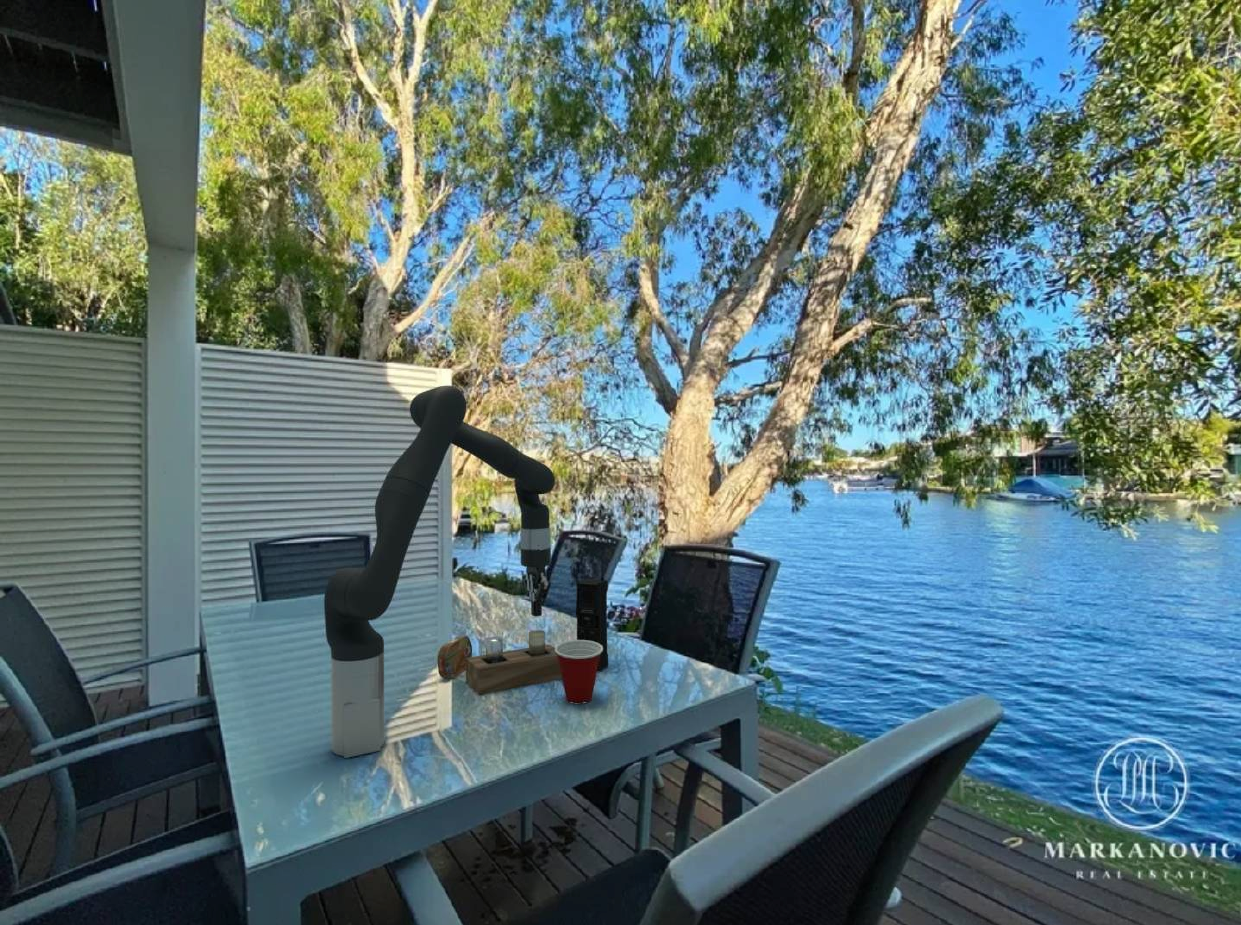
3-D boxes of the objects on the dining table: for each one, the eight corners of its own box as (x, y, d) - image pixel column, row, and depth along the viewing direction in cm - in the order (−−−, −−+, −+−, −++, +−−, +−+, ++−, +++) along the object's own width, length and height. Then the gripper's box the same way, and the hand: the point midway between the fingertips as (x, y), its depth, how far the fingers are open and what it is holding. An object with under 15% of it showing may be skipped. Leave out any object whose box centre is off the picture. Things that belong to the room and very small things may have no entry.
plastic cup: (559, 711, 137) (559, 655, 137) (551, 694, 148) (550, 641, 148) (609, 706, 140) (608, 650, 140) (597, 689, 150) (596, 638, 151)
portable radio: (571, 668, 166) (570, 571, 166) (583, 662, 171) (582, 568, 171) (598, 673, 162) (597, 573, 162) (609, 666, 168) (608, 570, 168)
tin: (447, 683, 156) (446, 648, 156) (435, 682, 157) (434, 647, 157) (473, 664, 171) (473, 632, 171) (462, 663, 171) (462, 632, 172)
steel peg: (505, 662, 154) (505, 639, 154) (489, 665, 152) (489, 641, 152) (499, 658, 157) (499, 635, 157) (483, 660, 155) (483, 637, 155)
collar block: (566, 678, 159) (565, 653, 159) (479, 695, 147) (479, 668, 148) (549, 667, 167) (548, 644, 167) (465, 682, 156) (465, 657, 156)
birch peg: (547, 655, 160) (547, 632, 160) (532, 657, 158) (532, 635, 158) (541, 651, 163) (541, 629, 163) (526, 653, 161) (526, 631, 161)
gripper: (511, 544, 164) (512, 612, 164) (532, 550, 153) (533, 623, 153) (538, 542, 168) (539, 608, 168) (560, 547, 157) (561, 619, 157)
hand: (536, 615), depth 160 cm, fingers closed
